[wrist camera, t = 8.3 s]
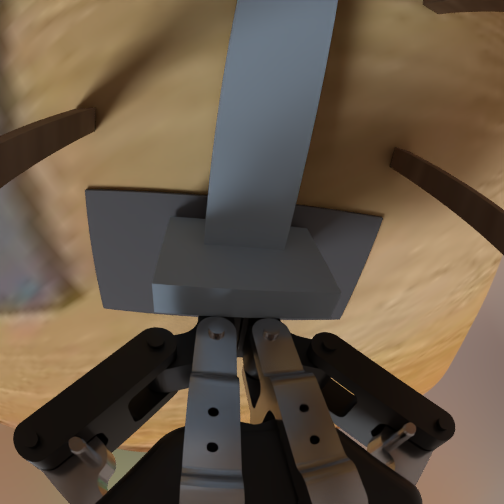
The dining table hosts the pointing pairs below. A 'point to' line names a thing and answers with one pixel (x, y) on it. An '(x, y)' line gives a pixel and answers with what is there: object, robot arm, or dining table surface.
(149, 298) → the mat
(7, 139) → the small brown wooden table
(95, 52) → the dining table surface
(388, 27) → the dining table surface
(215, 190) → the sled frame
